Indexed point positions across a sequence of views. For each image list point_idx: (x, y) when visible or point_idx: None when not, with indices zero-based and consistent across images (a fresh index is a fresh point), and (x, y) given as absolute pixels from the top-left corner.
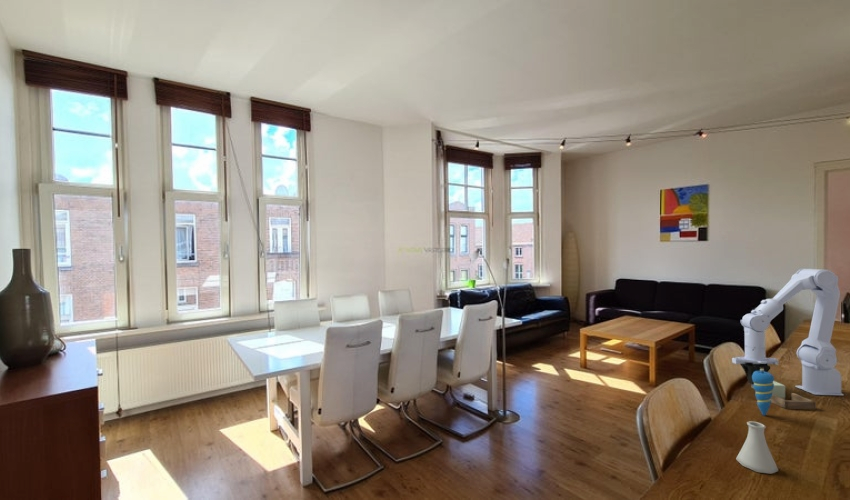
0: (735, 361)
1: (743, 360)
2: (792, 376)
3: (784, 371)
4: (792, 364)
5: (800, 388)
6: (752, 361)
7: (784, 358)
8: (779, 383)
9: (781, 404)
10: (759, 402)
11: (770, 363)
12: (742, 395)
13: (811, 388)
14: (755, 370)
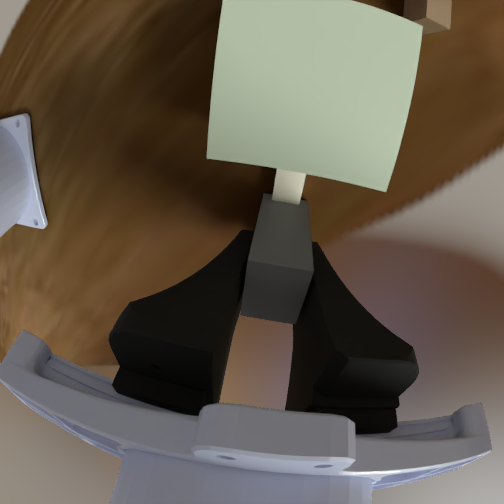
0: (485, 427)
1: (451, 451)
2: (32, 310)
3: (42, 339)
4: None
5: (39, 196)
6: (398, 452)
7: None
8: (224, 51)
9: None
10: None
11: (76, 373)
12: (492, 142)
13: (10, 155)
14: (334, 325)
